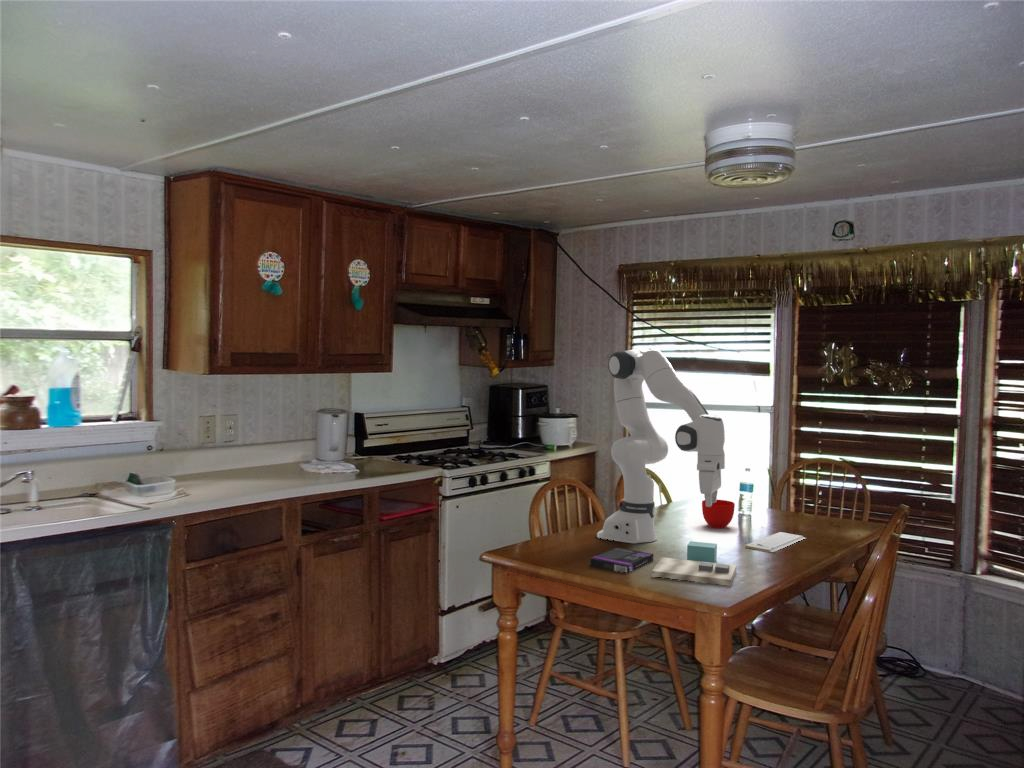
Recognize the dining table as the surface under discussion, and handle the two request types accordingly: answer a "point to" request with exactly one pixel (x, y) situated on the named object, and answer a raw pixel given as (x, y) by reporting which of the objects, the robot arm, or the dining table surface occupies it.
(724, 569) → the grey block
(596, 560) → the box
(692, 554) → the block
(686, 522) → the dining table surface
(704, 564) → the grey block
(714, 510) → the red bowl
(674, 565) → the board
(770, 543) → the white spiral notebook
